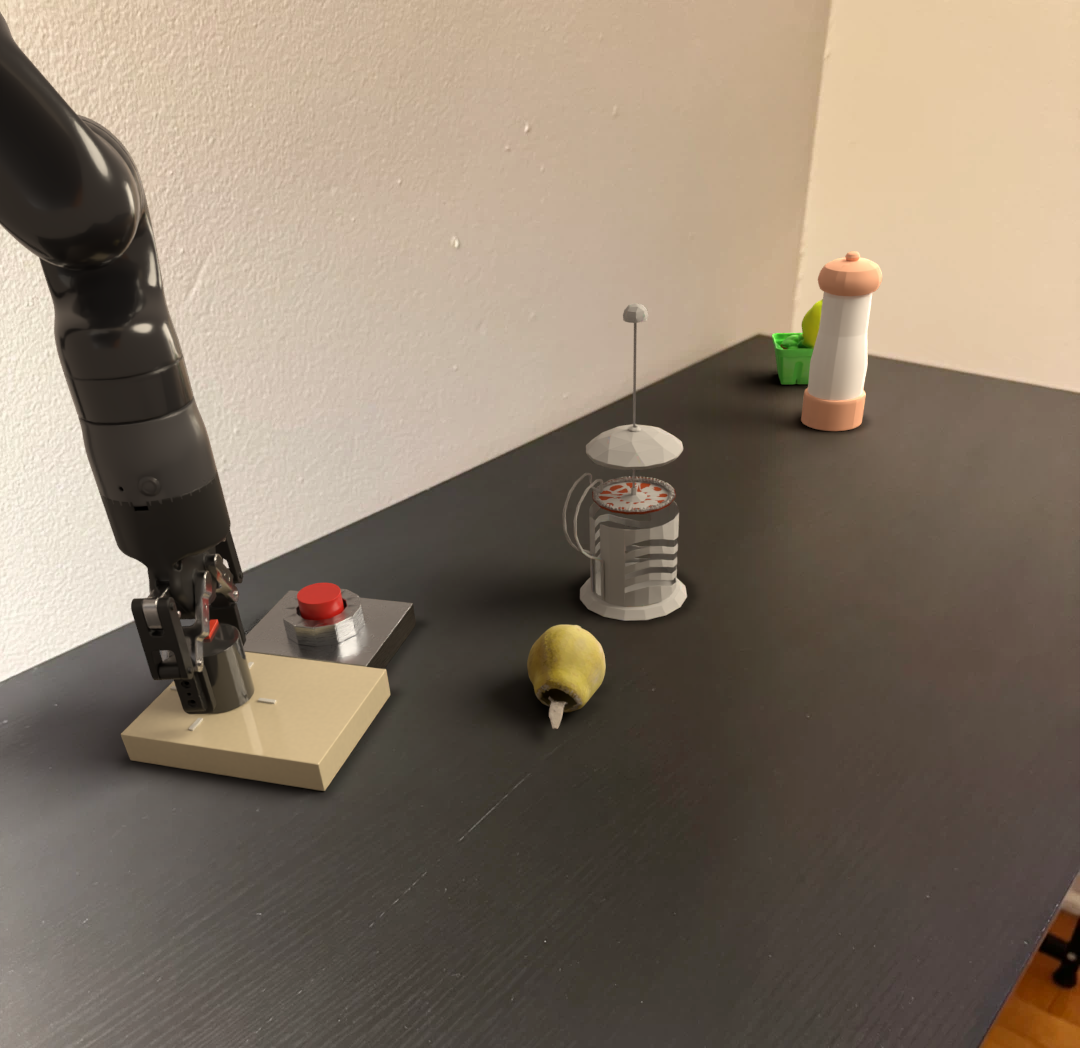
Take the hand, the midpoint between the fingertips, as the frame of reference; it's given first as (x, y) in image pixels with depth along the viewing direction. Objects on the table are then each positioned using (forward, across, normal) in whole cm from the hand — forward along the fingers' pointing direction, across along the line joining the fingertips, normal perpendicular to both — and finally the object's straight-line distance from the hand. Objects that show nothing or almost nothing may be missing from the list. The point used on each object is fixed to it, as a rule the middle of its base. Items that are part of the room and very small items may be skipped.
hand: (217, 677), depth 74 cm
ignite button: (0, -10, +6) cm, 12 cm away
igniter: (+4, -10, +6) cm, 13 cm away
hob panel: (+4, +1, +3) cm, 5 cm away
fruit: (+4, -1, +26) cm, 27 cm away
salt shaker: (+4, -59, +59) cm, 83 cm away
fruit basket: (+4, -74, +60) cm, 95 cm away
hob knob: (+2, 0, 0) cm, 2 cm away
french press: (+4, -17, +32) cm, 36 cm away
